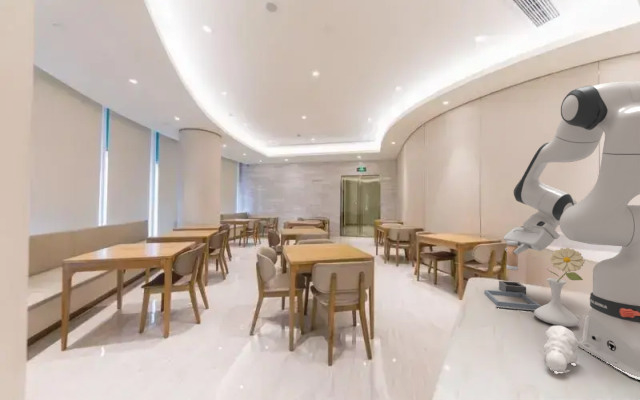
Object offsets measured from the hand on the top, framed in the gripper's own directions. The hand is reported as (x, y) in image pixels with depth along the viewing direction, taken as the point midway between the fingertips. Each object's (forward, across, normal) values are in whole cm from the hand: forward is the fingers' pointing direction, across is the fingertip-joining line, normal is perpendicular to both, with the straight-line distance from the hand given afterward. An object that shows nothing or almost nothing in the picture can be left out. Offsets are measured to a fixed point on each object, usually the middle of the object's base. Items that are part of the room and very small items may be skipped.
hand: (510, 252), depth 110 cm
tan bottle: (+4, 0, +5) cm, 7 cm away
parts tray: (+14, +1, +13) cm, 20 cm away
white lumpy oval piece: (+25, +43, +5) cm, 50 cm away
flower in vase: (+11, +18, +18) cm, 27 cm away
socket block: (+9, -10, +18) cm, 23 cm away
